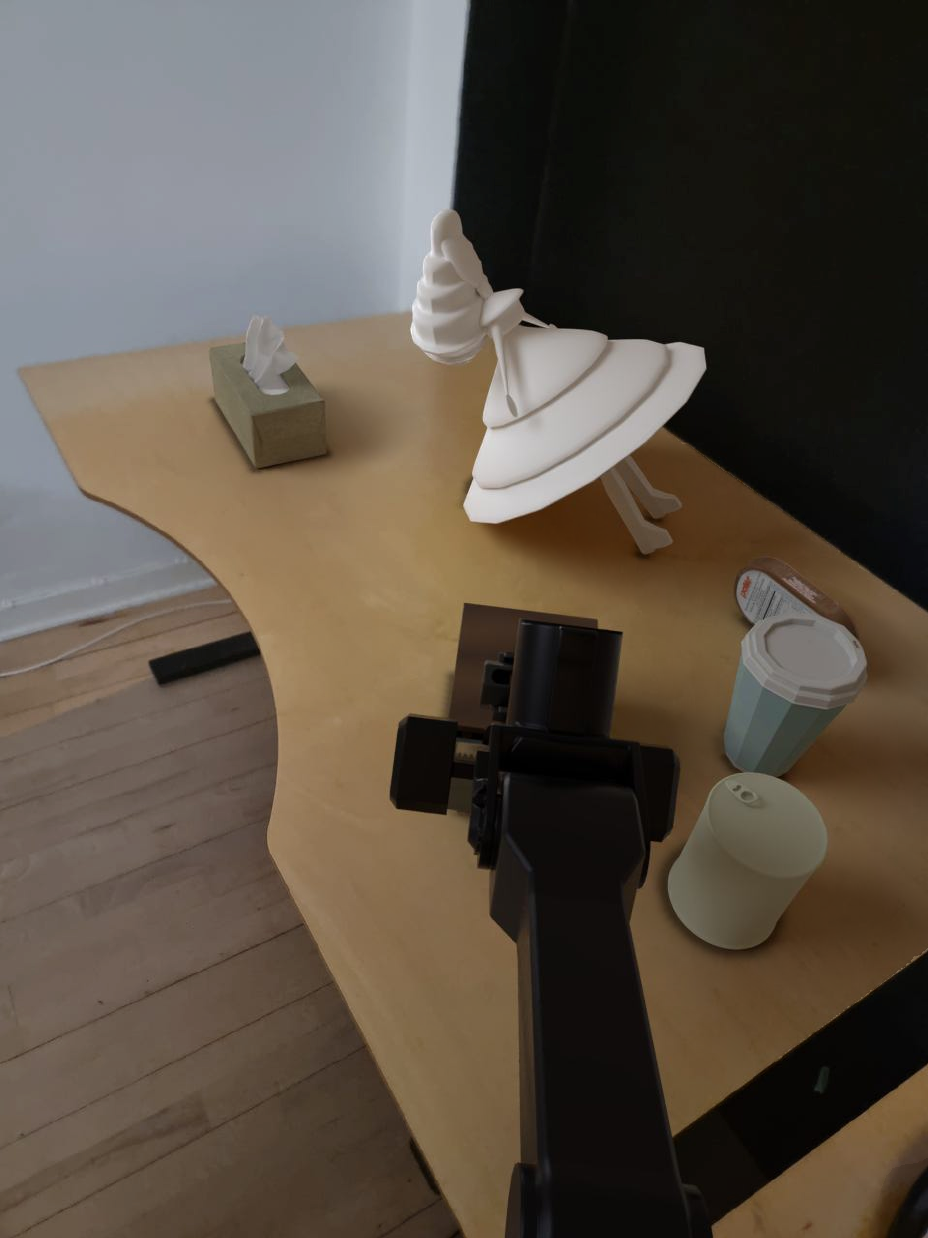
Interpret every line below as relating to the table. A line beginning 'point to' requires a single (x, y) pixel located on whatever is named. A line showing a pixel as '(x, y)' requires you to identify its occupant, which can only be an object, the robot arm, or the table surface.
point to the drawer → (463, 787)
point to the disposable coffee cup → (790, 689)
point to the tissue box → (268, 397)
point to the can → (746, 859)
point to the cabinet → (488, 656)
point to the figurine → (550, 394)
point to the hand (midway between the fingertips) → (525, 758)
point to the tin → (784, 594)
